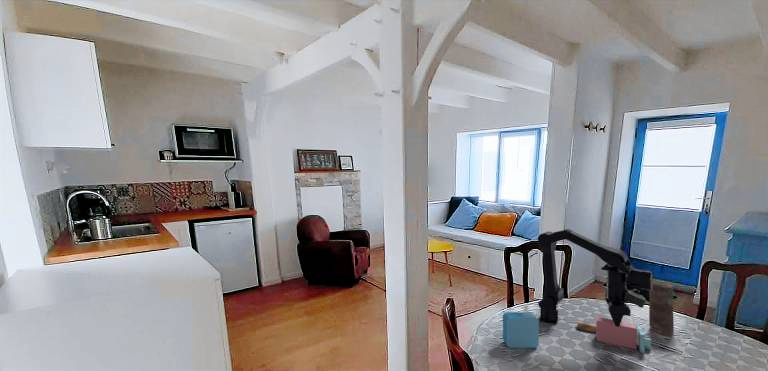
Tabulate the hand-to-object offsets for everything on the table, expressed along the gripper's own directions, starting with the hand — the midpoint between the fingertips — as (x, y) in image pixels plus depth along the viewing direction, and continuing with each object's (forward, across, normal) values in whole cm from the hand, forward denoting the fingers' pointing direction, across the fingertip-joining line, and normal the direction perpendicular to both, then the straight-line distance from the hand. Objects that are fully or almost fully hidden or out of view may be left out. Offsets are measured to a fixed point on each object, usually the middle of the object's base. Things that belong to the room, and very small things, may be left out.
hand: (616, 322), depth 115 cm
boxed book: (+8, 0, 0) cm, 8 cm away
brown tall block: (+8, +19, -17) cm, 26 cm away
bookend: (+8, 0, -8) cm, 11 cm away
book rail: (+8, +6, +4) cm, 10 cm away
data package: (+8, -20, +32) cm, 38 cm away
